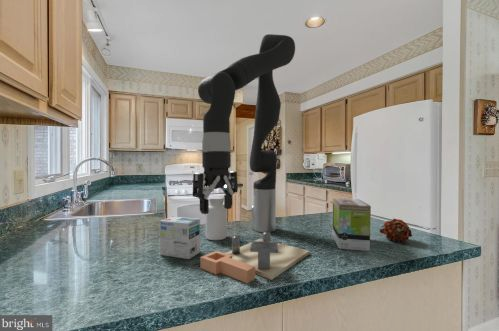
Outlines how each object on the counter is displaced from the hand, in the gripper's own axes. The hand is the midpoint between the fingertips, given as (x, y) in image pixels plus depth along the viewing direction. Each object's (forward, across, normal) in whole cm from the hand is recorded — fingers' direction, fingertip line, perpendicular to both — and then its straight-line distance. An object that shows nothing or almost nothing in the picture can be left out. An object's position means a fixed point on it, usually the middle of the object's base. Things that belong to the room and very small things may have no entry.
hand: (216, 210), depth 65 cm
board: (+15, -14, +6) cm, 22 cm away
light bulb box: (+15, 0, -16) cm, 22 cm away
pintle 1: (+15, -9, -1) cm, 18 cm away
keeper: (+14, -7, +11) cm, 19 cm away
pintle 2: (+15, -18, +4) cm, 24 cm away
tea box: (+16, -43, +22) cm, 51 cm away
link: (+15, 0, +4) cm, 16 cm away
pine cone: (+16, -56, +34) cm, 67 cm away
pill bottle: (+15, -18, -19) cm, 31 cm away
